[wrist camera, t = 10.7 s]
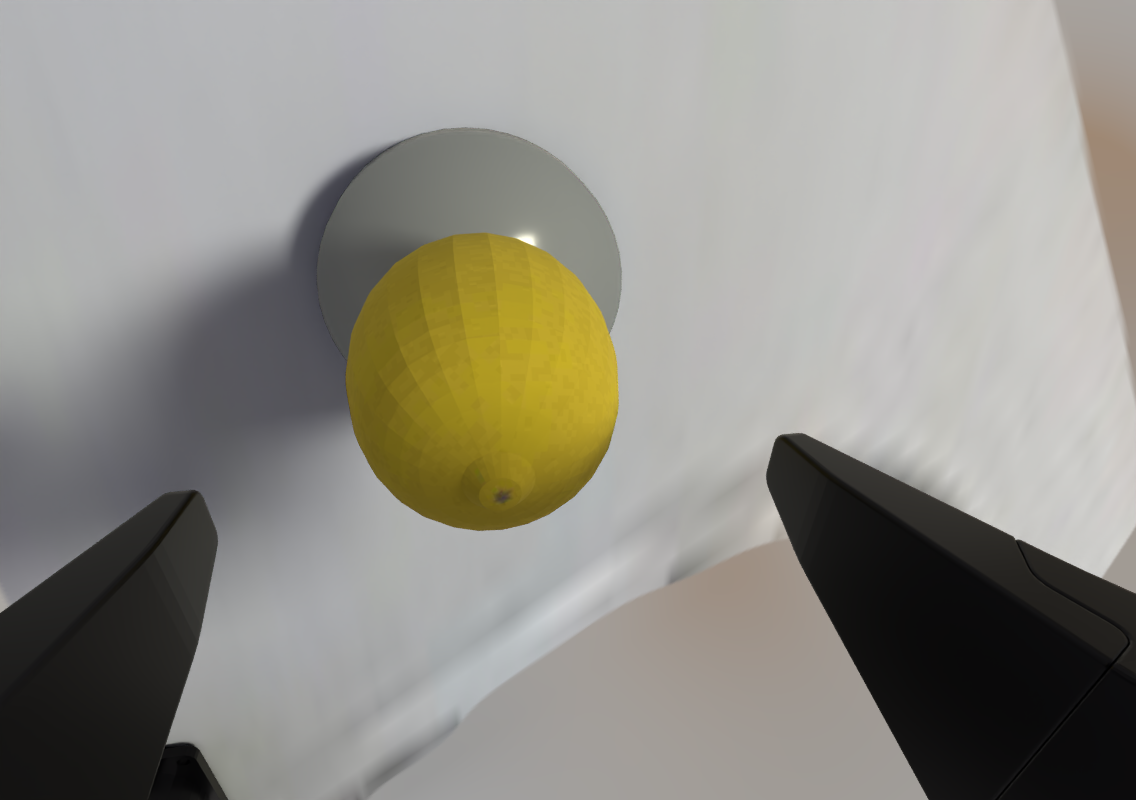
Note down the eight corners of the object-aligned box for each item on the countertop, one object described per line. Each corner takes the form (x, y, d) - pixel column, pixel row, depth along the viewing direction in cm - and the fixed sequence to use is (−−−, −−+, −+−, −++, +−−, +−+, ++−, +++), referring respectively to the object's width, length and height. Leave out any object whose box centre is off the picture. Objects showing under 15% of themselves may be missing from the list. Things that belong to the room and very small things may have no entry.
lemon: (476, 419, 18) (497, 652, 12) (321, 297, 15) (231, 513, 9) (616, 299, 17) (732, 484, 10) (475, 141, 14) (507, 255, 7)
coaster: (604, 392, 20) (611, 408, 19) (350, 412, 18) (346, 430, 18) (622, 126, 15) (633, 133, 15) (292, 127, 14) (283, 134, 13)
